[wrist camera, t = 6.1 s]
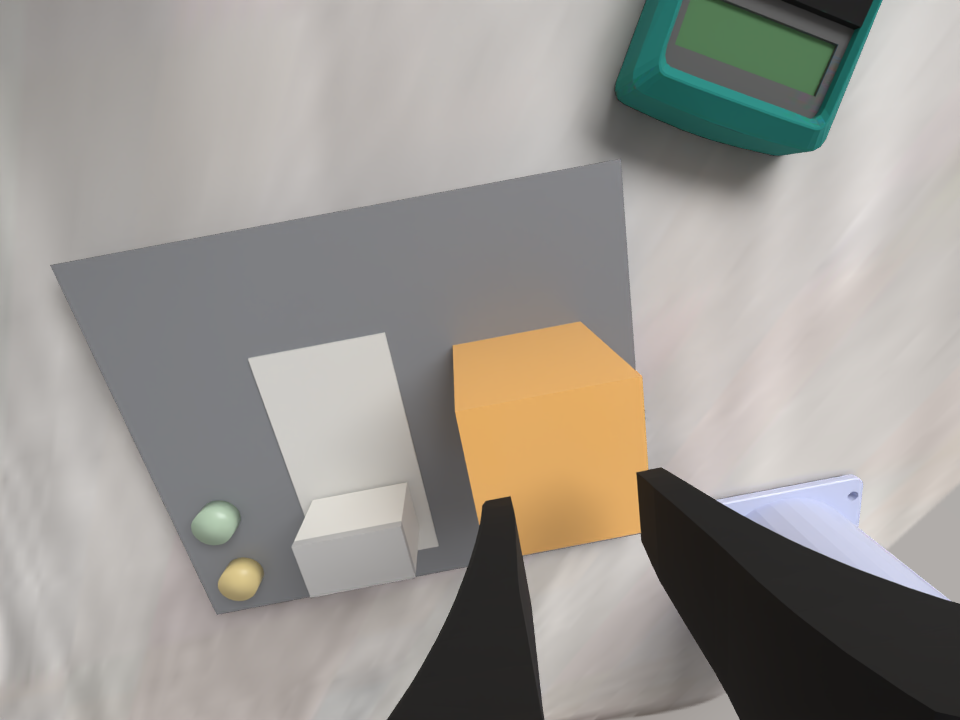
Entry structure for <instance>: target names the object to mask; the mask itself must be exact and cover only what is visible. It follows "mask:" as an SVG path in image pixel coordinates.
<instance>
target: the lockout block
mask: <svg viewBox="0 0 960 720" xmlns="http://www.w3.org/2000/svg"><path fill="white" fill-rule="evenodd" d="M453 369H454V398H455V414H456V419H457V424H458V428H459V433H460V438H461V442H462V447H463V452H464V456H465V461H466V466H467V470H468V475H469V480H470V484H471V489H472V494H473V498H474V503H475V508H476V512H477V517H478V522H479V525H480V520H481V513H482V505H483V504H484V503H485V501H488V500H493V499H498V498H503V497H509V496H511V500H512V504H513V508H514V513H515V518H516V523H517V529H518V534H519V540H520V545H521V551H522V555H527V554H533V553H538V552H543V551H548V550H554V549H559V548H564V547H569V546H574V545H580V544H585V543H590V542H595V541H601V540H606V539H611V538H616V537H622V536H627V535H632V534H637V533H641V529H640V515H639V502H638V489H637V475H636V472H640V471H645V470H648V458H647V443H646V427H645V412H644V397H643V381H642V376H641V375H640V374H639V373H638V372H637V371H636V370H634V369H633V368H632V367H631V366H630V365H629V364H628V363H627V362H626V361H624V360H623V359H622V358H621V357H620V356H619V355H618V354H617V353H615V352H614V351H613V350H612V349H611V348H610V347H609V346H608V345H606V344H605V343H604V342H603V341H602V340H601V339H600V338H599V337H597V336H596V335H595V334H594V333H593V332H592V331H591V330H590V329H588V328H587V327H586V326H585V325H584V324H583V323H582V322H581V321H580V322H575V323H569V324H564V325H559V326H554V327H548V328H543V329H538V330H532V331H527V332H522V333H516V334H511V335H506V336H500V337H495V338H490V339H485V340H479V341H474V342H469V343H463V344H458V345H453Z"/></svg>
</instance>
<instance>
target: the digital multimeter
mask: <svg viewBox="0 0 960 720" xmlns="http://www.w3.org/2000/svg"><path fill="white" fill-rule="evenodd" d="M881 3H882V0H646V2H645V5H644V8H643V11H642V13H641V16H640V19H639V21H638V24H637V27H636V30H635V32H634V35H633V38H632V40H631V43H630V46H629V49H628V51H627V54H626V57H625V59H624V62H623V65H622V68H621V70H620V73H619V76H618V78H617V81H616V85H615V93H616V96H617V98H618V100H619V101H621V102H622V103H623V104H625V105H627V106H630V107H632V108H634V109H636V110H638V111H640V112H642V113H645V114H647V115H649V116H651V117H653V118H655V119H658V120H660V121H662V122H665V123H667V124H670V125H672V126H674V127H677V128H679V129H681V130H684V131H687V132H690V133H693V134H696V135H698V136H701V137H704V138H707V139H710V140H713V141H717V142H721V143H724V144H728V145H732V146H736V147H739V148H743V149H748V150H752V151H756V152H761V153H765V154H770V155H776V156H781V155H788V154H795V153H802V152H809V151H814V150H816V149H817V148H819V147H821V145H822V144H823V143H824V141H825V140H826V138H827V135H828V133H829V130H830V128H831V125H832V123H833V120H834V118H835V116H836V113H837V111H838V108H839V106H840V103H841V101H842V98H843V96H844V93H845V91H846V88H847V86H848V83H849V81H850V79H851V76H852V74H853V71H854V69H855V66H856V64H857V61H858V59H859V56H860V54H861V51H862V49H863V47H864V44H865V42H866V39H867V37H868V34H869V32H870V29H871V27H872V24H873V22H874V19H875V17H876V14H877V12H878V10H879V7H880V5H881Z"/></svg>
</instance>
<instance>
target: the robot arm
mask: <svg viewBox="0 0 960 720" xmlns="http://www.w3.org/2000/svg"><path fill="white" fill-rule="evenodd" d="M636 475H637V489H638V502H639V515H640V529H641V541H642V543H643V546H644V548H645V550H646V552H647V555H648V557H649V559H650V561H651V564H652V566H653V568H654V570H655V572H656V574H657V576H658V579H659V581H660V582H661V584H662V586H663V587H664V589H665V591H666V593H667V594H668V596H669V598H670V599H671V601H672V603H673V604H674V606H675V608H676V609H677V611H678V613H679V614H680V616H681V617H682V619H683V621H684V622H685V624H686V626H687V627H688V629H689V631H690V632H691V634H692V636H693V637H694V639H695V640H696V642H697V644H698V645H699V647H700V649H701V650H702V652H703V654H704V655H705V657H706V659H707V660H708V662H709V664H710V665H711V667H712V668H713V670H714V672H715V673H716V675H717V677H718V679H719V681H720V682H721V684H722V686H723V688H724V690H725V691H726V693H727V694H728V697H729V699H730V701H731V703H732V705H733V707H734V709H735V711H736V713H737V715H738V717H739V719H740V720H960V604H958V603H955V602H952V601H950V600H949V599H948V598H947V597H945V596H944V595H943V594H942V593H940V592H939V591H938V590H937V589H935V588H934V587H933V586H932V585H930V584H929V583H928V582H926V581H925V580H924V579H923V578H921V577H920V576H919V575H917V574H916V573H915V572H914V571H913V570H911V569H910V568H909V567H907V566H906V565H905V564H903V563H902V562H901V561H900V560H898V559H897V558H896V557H895V556H894V555H892V554H891V553H890V552H888V551H887V550H886V549H885V548H883V547H882V546H881V545H880V544H878V543H877V542H876V541H875V540H873V539H872V538H871V537H870V536H868V535H867V534H866V533H864V532H863V531H862V530H861V529H859V528H858V526H859V517H860V508H861V499H862V490H863V481H862V480H861V479H860V478H858V477H857V476H855V475H844V476H839V477H834V478H829V479H823V480H818V481H813V482H808V483H802V484H797V485H792V486H787V487H781V488H776V489H771V490H766V491H761V492H755V493H750V494H745V495H740V496H734V497H729V498H724V499H719V500H715V499H713V498H712V497H710V496H708V495H706V494H705V493H703V492H701V491H700V490H698V489H696V488H695V487H693V486H692V485H690V484H688V483H687V482H685V481H683V480H682V479H680V478H678V477H677V476H675V475H673V474H672V473H670V472H668V471H667V470H665V469H663V468H656V469H651V470H645V471H640V472H636ZM387 720H544V714H543V707H542V698H541V689H540V680H539V671H538V662H537V652H536V643H535V634H534V625H533V616H532V607H531V601H530V595H529V590H528V584H527V579H526V573H525V567H524V562H523V556H522V551H521V545H520V540H519V534H518V529H517V523H516V518H515V513H514V508H513V504H512V500H511V496H509V497H503V498H498V499H493V500H488V501H485V503H484V504H483V505H482V513H481V520H480V525H479V530H478V534H477V538H476V542H475V545H474V548H473V552H472V555H471V558H470V561H469V565H468V568H467V570H466V573H465V576H464V578H463V581H462V583H461V586H460V589H459V591H458V594H457V596H456V599H455V601H454V604H453V606H452V608H451V610H450V613H449V615H448V617H447V619H446V621H445V623H444V625H443V627H442V629H441V631H440V633H439V635H438V637H437V639H436V641H435V643H434V645H433V646H432V648H431V650H430V652H429V654H428V656H427V657H426V659H425V661H424V663H423V665H422V666H421V668H420V670H419V671H418V673H417V675H416V676H415V678H414V680H413V681H412V683H411V685H410V686H409V688H408V689H407V691H406V692H405V694H404V695H403V697H402V698H401V700H400V701H399V703H398V704H397V706H396V707H395V709H394V710H393V712H392V713H391V715H390V716H389V718H388V719H387Z"/></svg>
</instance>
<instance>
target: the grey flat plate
mask: <svg viewBox="0 0 960 720" xmlns="http://www.w3.org/2000/svg"><path fill="white" fill-rule="evenodd" d="M50 266H51V268H52V270H53V272H54V274H55V276H56V278H57V280H58V282H59V284H60V287H61V289H62V291H63V293H64V295H65V297H66V299H67V301H68V303H69V305H70V308H71V310H72V312H73V314H74V316H75V318H76V320H77V322H78V324H79V326H80V329H81V331H82V333H83V335H84V337H85V339H86V341H87V343H88V345H89V347H90V350H91V352H92V354H93V356H94V358H95V360H96V362H97V364H98V366H99V368H100V371H101V373H102V375H103V377H104V379H105V381H106V383H107V385H108V387H109V389H110V392H111V394H112V396H113V398H114V400H115V402H116V404H117V406H118V408H119V410H120V413H121V415H122V417H123V419H124V421H125V423H126V425H127V427H128V429H129V431H130V434H131V436H132V438H133V440H134V442H135V444H136V446H137V448H138V450H139V452H140V455H141V457H142V459H143V461H144V463H145V465H146V467H147V469H148V471H149V473H150V476H151V478H152V480H153V482H154V484H155V486H156V488H157V490H158V492H159V494H160V497H161V499H162V501H163V503H164V505H165V507H166V509H167V511H168V513H169V515H170V518H171V520H172V522H173V524H174V526H175V528H176V530H177V532H178V534H179V536H180V539H181V541H182V543H183V545H184V547H185V549H186V551H187V553H188V555H189V557H190V560H191V562H192V564H193V566H194V568H195V570H196V572H197V574H198V576H199V578H200V581H201V583H202V585H203V587H204V589H205V591H206V593H207V595H208V597H209V599H210V602H211V604H212V606H213V608H214V610H215V612H216V614H217V615H218V614H223V613H228V612H233V611H239V610H244V609H249V608H254V607H260V606H265V605H270V604H275V603H281V602H286V601H291V600H296V599H301V598H307V597H310V594H309V592H308V589H307V587H306V584H305V581H304V579H303V576H302V573H301V571H300V568H299V566H298V563H297V560H296V558H295V555H294V553H293V550H292V545H293V543H294V540H295V538H296V536H297V534H298V532H299V529H300V527H301V525H302V523H303V521H304V518H305V516H306V514H307V512H308V510H309V507H310V505H311V503H312V501H313V500H316V499H321V498H327V497H332V496H337V495H342V494H348V493H353V492H358V491H364V490H369V489H374V488H379V487H385V486H390V485H395V484H400V483H406V482H407V484H408V487H409V491H410V495H411V499H412V502H413V506H414V510H415V514H416V517H417V521H418V525H419V541H418V552H417V564H416V575H415V577H417V576H422V575H427V574H432V573H438V572H443V571H448V570H453V569H458V568H464V567H468V565H469V561H470V558H471V555H472V552H473V548H474V545H475V542H476V538H477V534H478V530H479V522H478V517H477V512H476V508H475V503H474V498H473V494H472V489H471V484H470V480H469V475H468V470H467V466H466V461H465V456H464V452H463V447H462V442H461V438H460V433H459V428H458V424H457V419H456V414H455V398H454V369H453V345H458V344H463V343H469V342H474V341H479V340H485V339H490V338H495V337H500V336H506V335H511V334H516V333H522V332H527V331H532V330H538V329H543V328H548V327H554V326H559V325H564V324H569V323H575V322H580V321H581V322H582V323H583V324H584V325H585V326H586V327H587V328H588V329H590V330H591V331H592V332H593V333H594V334H595V335H596V336H597V337H599V338H600V339H601V340H602V341H603V342H604V343H605V344H606V345H608V346H609V347H610V348H611V349H612V350H613V351H614V352H615V353H617V354H618V355H619V356H620V357H621V358H622V359H623V360H624V361H626V362H627V363H628V364H629V365H630V366H631V367H632V368H633V369H634V370H636V369H635V355H634V340H633V326H632V312H631V298H630V283H629V269H628V255H627V240H626V226H625V212H624V197H623V183H622V169H621V159H617V160H612V161H607V162H601V163H596V164H590V165H585V166H580V167H574V168H569V169H564V170H558V171H553V172H548V173H542V174H537V175H531V176H526V177H521V178H515V179H510V180H505V181H499V182H494V183H489V184H483V185H478V186H472V187H467V188H462V189H456V190H451V191H446V192H440V193H435V194H430V195H424V196H419V197H413V198H408V199H403V200H397V201H392V202H387V203H381V204H376V205H371V206H365V207H360V208H354V209H349V210H344V211H338V212H333V213H328V214H322V215H317V216H312V217H306V218H301V219H295V220H290V221H285V222H279V223H274V224H269V225H263V226H258V227H253V228H247V229H242V230H236V231H231V232H226V233H220V234H215V235H210V236H204V237H199V238H194V239H188V240H183V241H177V242H172V243H167V244H161V245H156V246H151V247H145V248H140V249H135V250H129V251H124V252H118V253H113V254H108V255H102V256H97V257H92V258H86V259H81V260H76V261H70V262H65V263H59V264H54V265H50ZM637 534H641V533H637ZM632 535H636V534H632ZM627 536H631V535H627ZM622 537H626V536H622ZM616 538H621V537H616ZM611 539H615V538H611ZM606 540H610V539H606ZM601 541H605V540H601ZM595 542H600V541H595ZM595 542H590V543H595ZM585 544H589V543H585ZM580 545H584V544H580ZM574 546H579V545H574ZM574 546H569V547H574ZM564 548H568V547H564ZM559 549H563V548H559ZM554 550H558V549H554ZM548 551H553V550H548ZM543 552H547V551H543ZM538 553H542V552H538ZM533 554H537V553H533ZM527 555H532V554H527ZM522 556H526V555H522Z"/></svg>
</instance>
